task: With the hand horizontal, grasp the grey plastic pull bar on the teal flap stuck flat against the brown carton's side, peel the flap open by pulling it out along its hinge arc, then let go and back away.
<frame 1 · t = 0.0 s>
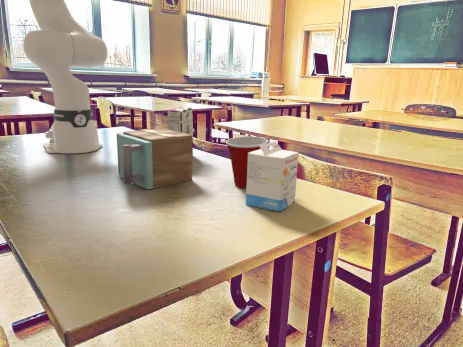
ink box: (270, 204, 80), on the table
flap: (124, 161, 89), point 6 cm above the table, hinge at 0.0°
candy bar box: (180, 159, 119), on the table
carton: (158, 177, 97), on the table
plastic cup: (245, 186, 93), on the table
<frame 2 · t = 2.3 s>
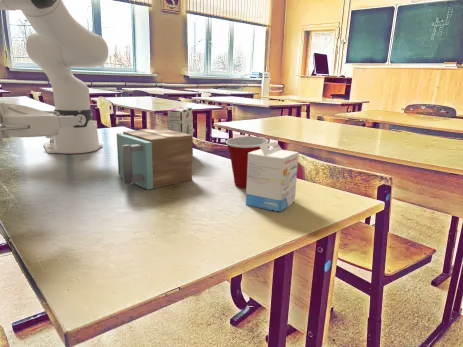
hand: (67, 117, 72), 18 cm above the table, tool horizontal, fingers open, 8 cm apart
nothing on the table moved.
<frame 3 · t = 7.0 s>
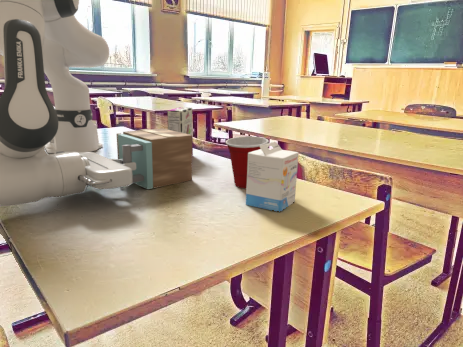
hand: (131, 163, 84), 7 cm above the table, tool horizontal, fingers closed on flap, 2 cm apart
flap: (124, 161, 89), point 6 cm above the table, hinge at 0.0°, touching gripper
everything else where it was.
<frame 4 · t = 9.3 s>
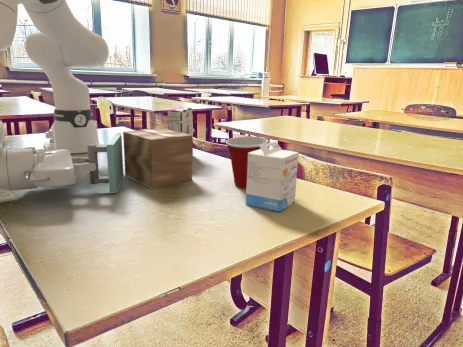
hand: (94, 163, 83), 7 cm above the table, tool horizontal, fingers open, 3 cm apart
flap: (106, 161, 88), point 6 cm above the table, hinge at 33.5°, touching gripper
everything else where it was.
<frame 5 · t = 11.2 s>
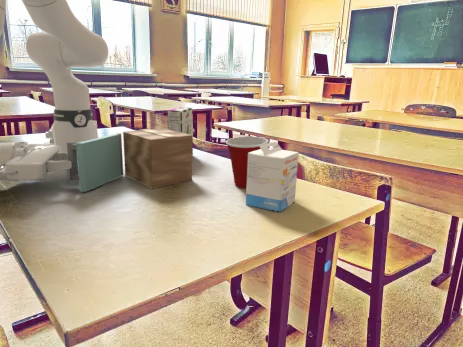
hand: (74, 160, 85), 6 cm above the table, tool horizontal, fingers open, 5 cm apart
flap: (94, 159, 89), point 6 cm above the table, hinge at 60.7°
everything else where it was.
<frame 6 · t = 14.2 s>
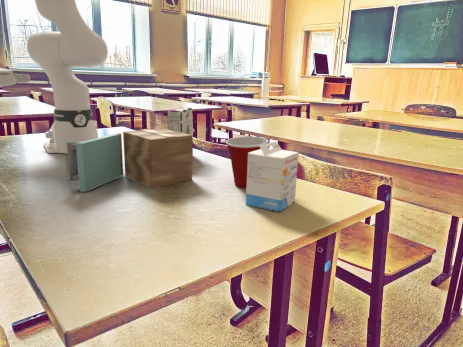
hand: (22, 79, 79), 25 cm above the table, tool horizontal, fingers open, 8 cm apart
nothing on the table moved.
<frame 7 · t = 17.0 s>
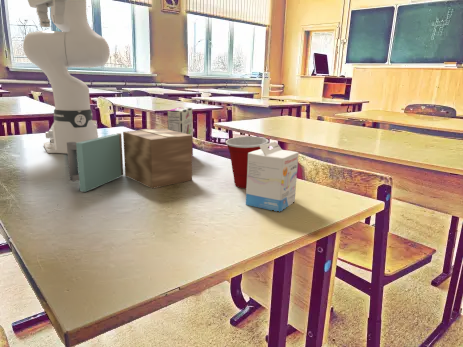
hand: (51, 25, 84), 37 cm above the table, tool pointing down, fingers open, 8 cm apart
nothing on the table moved.
at the end: flap at +61° (first picture: +0°); the gripper is holding nothing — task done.
